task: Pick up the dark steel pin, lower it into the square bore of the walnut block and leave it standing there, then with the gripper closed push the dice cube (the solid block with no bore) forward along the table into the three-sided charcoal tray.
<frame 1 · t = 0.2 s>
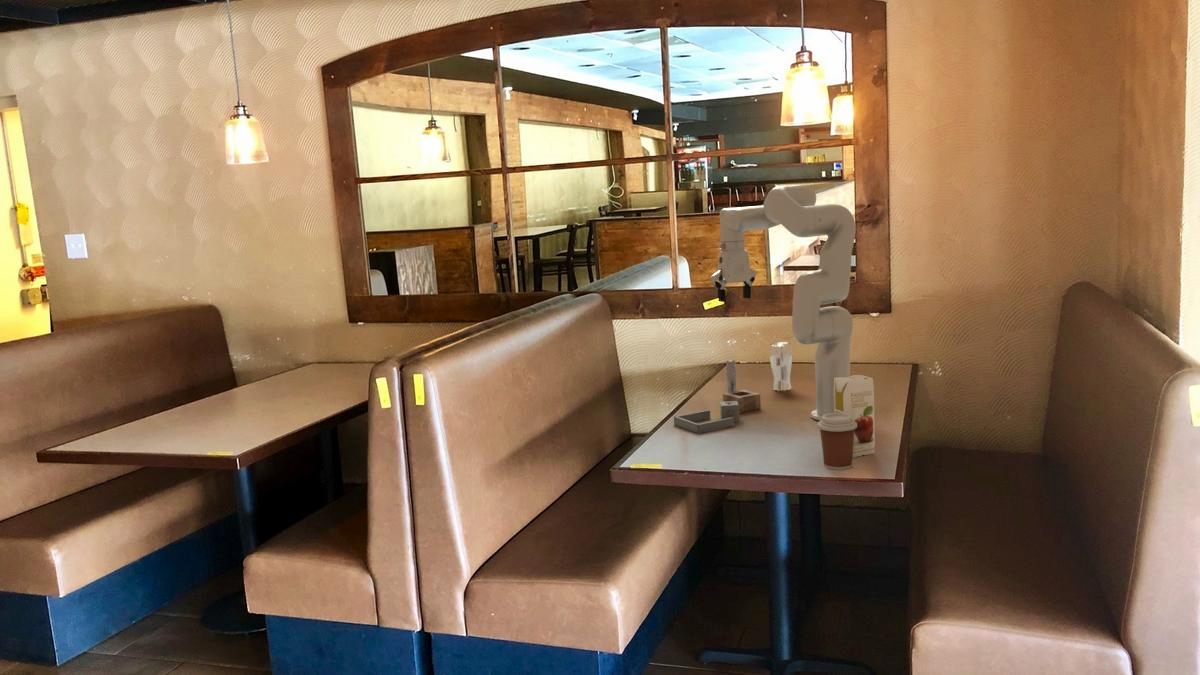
hand: (734, 299, 295), 30 cm above the table, tool pointing down, fingers open, 9 cm apart
walnut block: (741, 408, 278), on the table
dice cube: (730, 420, 265), on the table
coffee cup: (838, 466, 217), on the table
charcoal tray: (703, 425, 261), on the table
beer glass: (782, 389, 300), on the table
steel pin: (732, 401, 287), on the table
juice carton: (855, 453, 226), on the table
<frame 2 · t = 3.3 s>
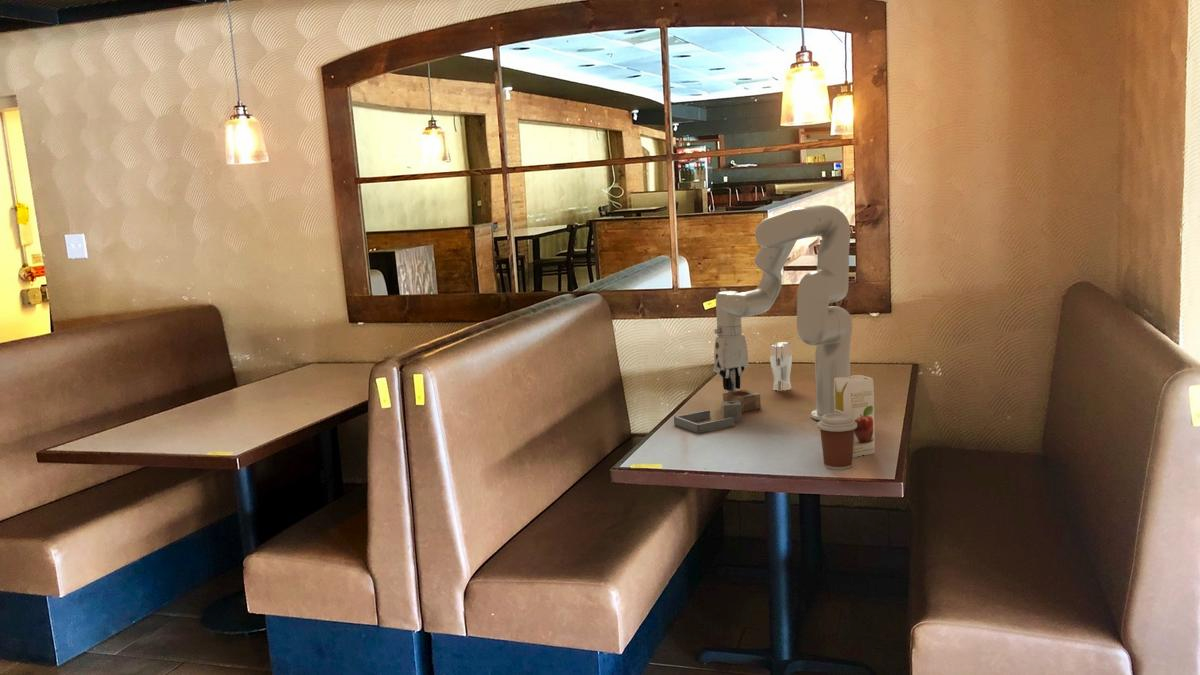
hand: (731, 388, 286), 4 cm above the table, tool pointing down, fingers closed on steel pin, 2 cm apart
steel pin: (732, 401, 287), on the table, touching gripper
everything else where it was.
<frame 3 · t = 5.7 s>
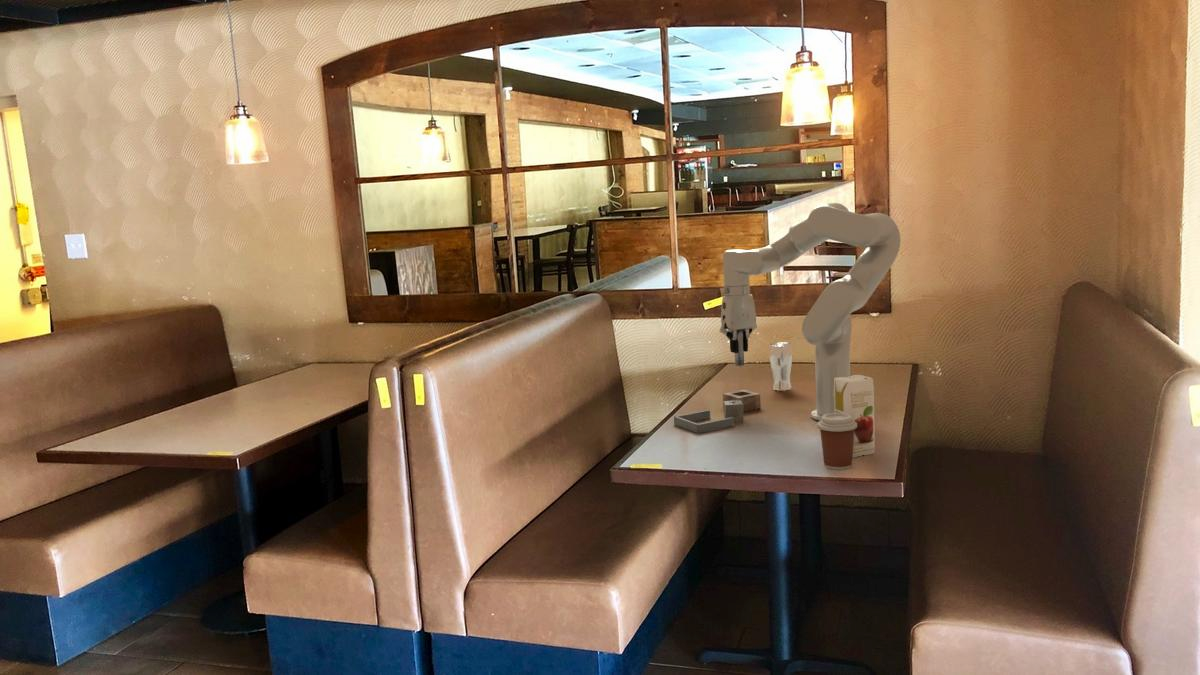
hand: (739, 351, 275), 18 cm above the table, tool pointing down, fingers closed on steel pin, 2 cm apart
steel pin: (739, 364, 276), point 13 cm above the table, touching gripper
when the fingers open (6 cm above the table, at t = 8.4 s): steel pin drops 2 cm, resting in walnut block.
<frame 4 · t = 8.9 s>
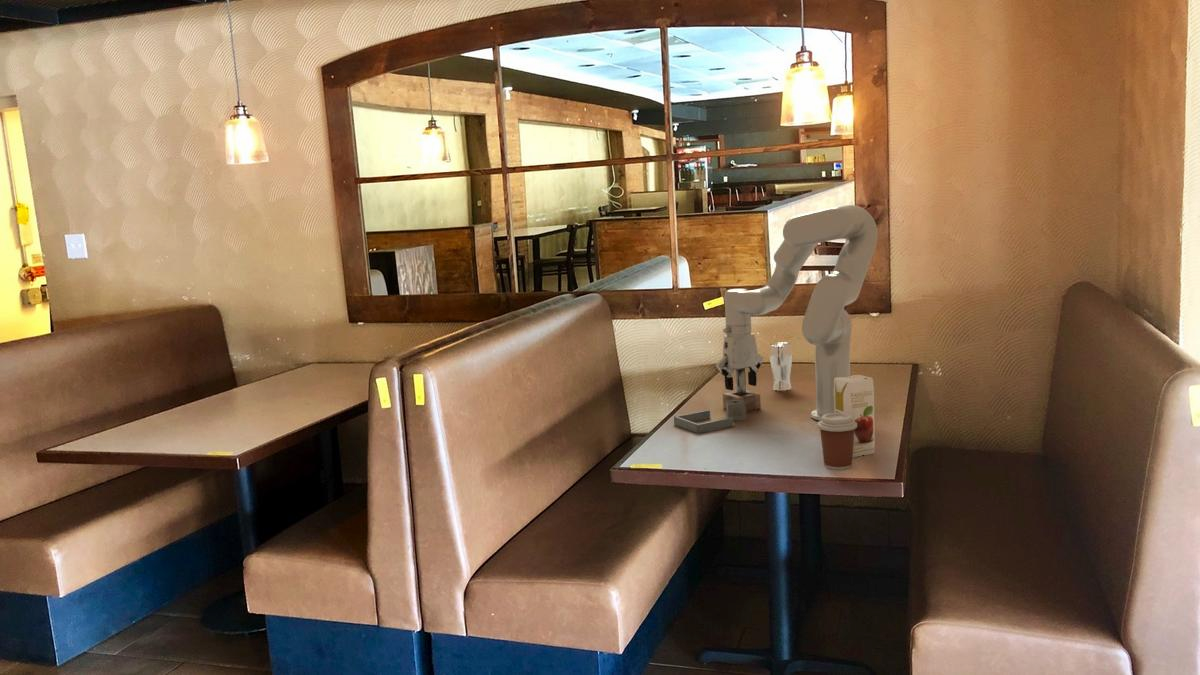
hand: (741, 387, 277), 7 cm above the table, tool pointing down, fingers open, 8 cm apart
steel pin: (741, 408, 278), resting in walnut block
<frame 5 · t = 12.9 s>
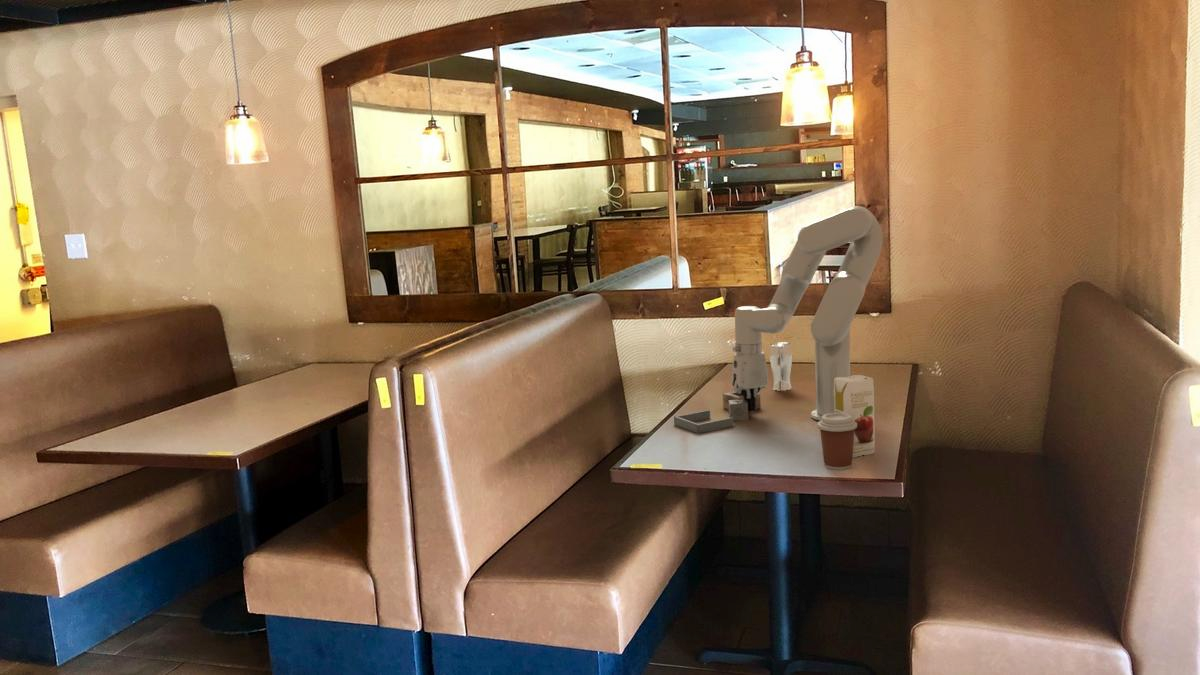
hand: (749, 410, 269), 2 cm above the table, tool pointing down, fingers closed
dice cube: (738, 419, 266), on the table, touching gripper
everything else where it was.
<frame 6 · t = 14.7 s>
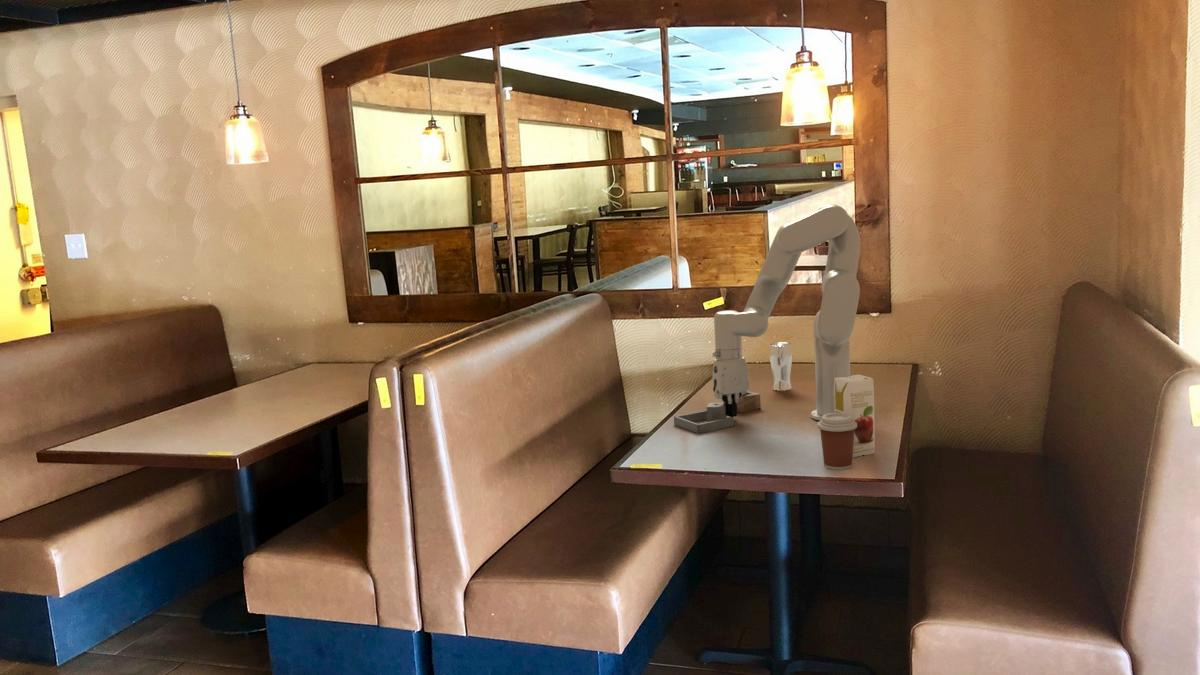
hand: (731, 415, 265), 1 cm above the table, tool pointing down, fingers closed
dice cube: (717, 422, 264), on the table, touching gripper
everything else where it was.
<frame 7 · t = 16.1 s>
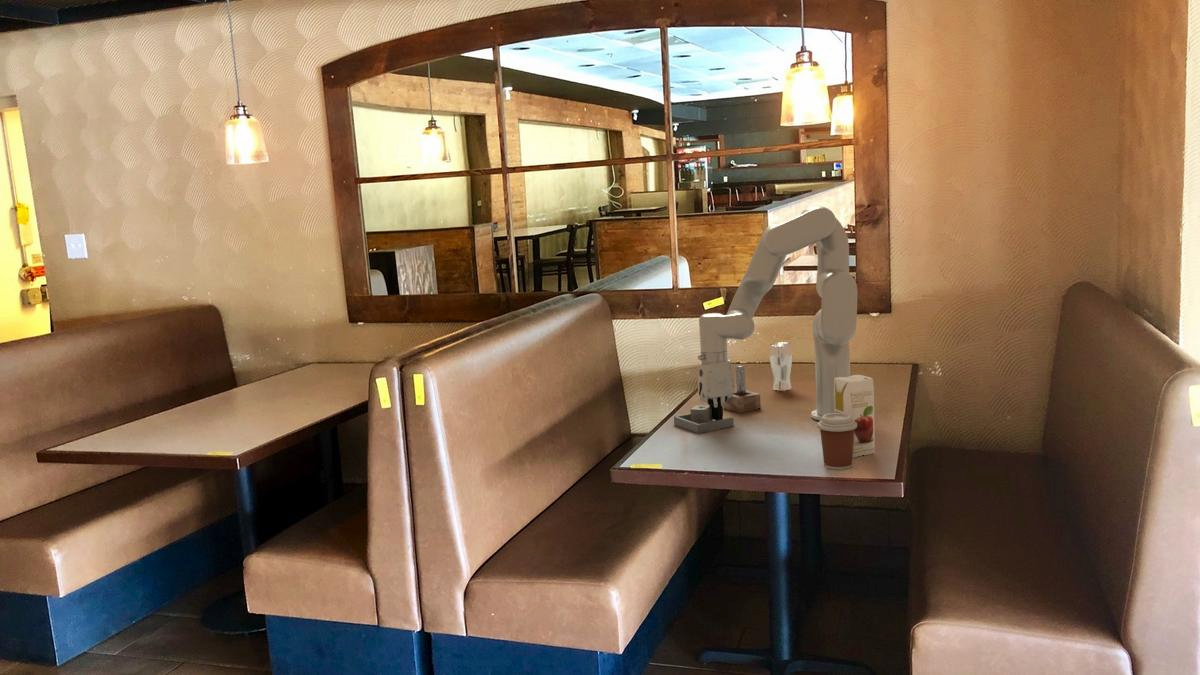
hand: (717, 419, 263), 1 cm above the table, tool pointing down, fingers closed
dice cube: (702, 425, 262), on the table, touching gripper
everything else where it was.
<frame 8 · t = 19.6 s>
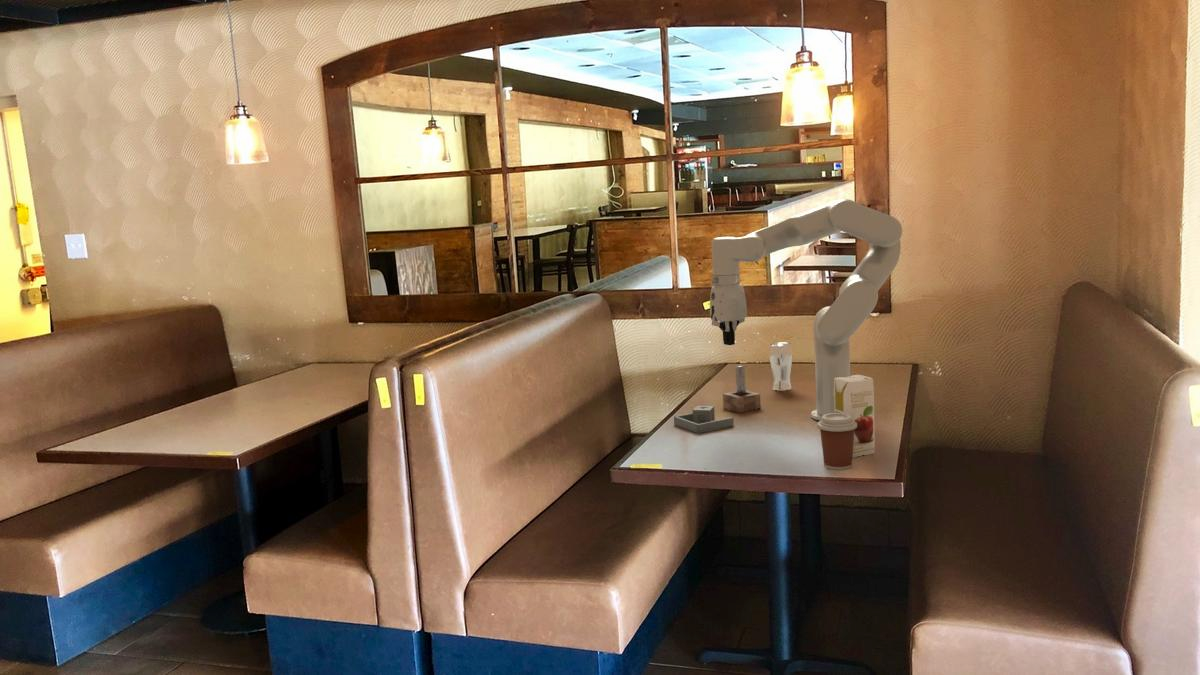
hand: (729, 344, 262), 22 cm above the table, tool pointing down, fingers closed
dice cube: (704, 425, 262), on the table
everything else where it was.
at the end: steel pin 0.0 cm off-centre on the walnut block, point 0.0 cm above the walnut block's base; dice cube 0.7 cm from the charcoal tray (horizontally); dice cube on the table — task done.
